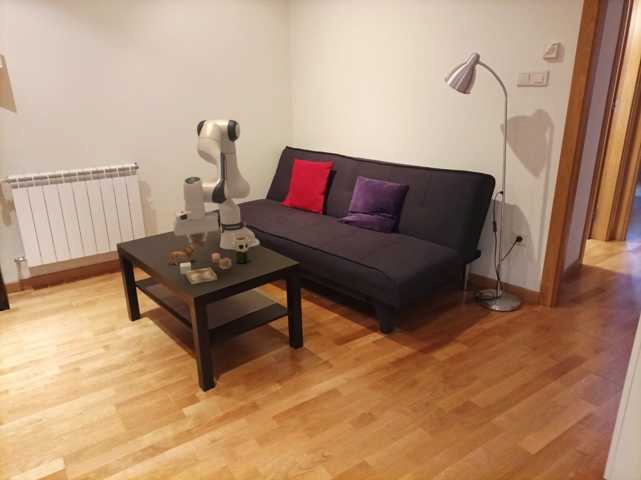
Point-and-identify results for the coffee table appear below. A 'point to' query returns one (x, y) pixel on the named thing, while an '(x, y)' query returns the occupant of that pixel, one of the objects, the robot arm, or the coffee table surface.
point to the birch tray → (201, 275)
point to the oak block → (225, 263)
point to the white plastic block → (185, 267)
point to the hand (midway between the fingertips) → (197, 242)
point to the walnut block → (197, 240)
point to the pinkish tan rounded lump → (215, 257)
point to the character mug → (241, 248)
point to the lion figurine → (182, 255)
